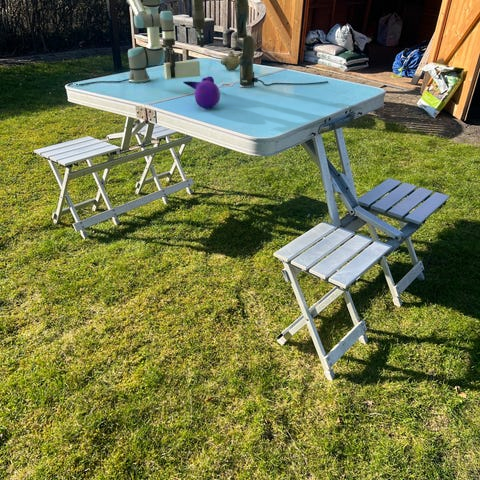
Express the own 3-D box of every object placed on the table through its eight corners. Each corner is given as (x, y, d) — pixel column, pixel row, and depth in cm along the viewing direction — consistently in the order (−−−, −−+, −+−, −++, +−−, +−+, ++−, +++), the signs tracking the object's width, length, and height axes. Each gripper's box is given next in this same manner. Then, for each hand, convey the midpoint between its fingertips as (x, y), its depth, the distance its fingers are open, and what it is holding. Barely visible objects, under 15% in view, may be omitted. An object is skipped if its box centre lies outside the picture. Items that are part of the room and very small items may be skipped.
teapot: (224, 72, 363) (223, 52, 355) (217, 70, 371) (216, 51, 364) (246, 69, 372) (246, 50, 364) (239, 67, 380) (239, 48, 373)
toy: (207, 99, 283) (220, 114, 262) (180, 94, 275) (191, 110, 255) (213, 74, 275) (226, 87, 254) (185, 68, 267) (197, 82, 247)
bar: (167, 79, 291) (165, 64, 287) (165, 77, 296) (163, 62, 291) (200, 76, 299) (199, 61, 294) (197, 74, 303) (196, 60, 298)
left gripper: (178, 39, 276) (181, 79, 288) (170, 36, 291) (173, 73, 303) (166, 40, 274) (170, 80, 286) (159, 37, 289) (163, 74, 301)
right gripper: (207, 18, 273) (208, 47, 281) (201, 17, 285) (203, 44, 293) (195, 19, 271) (197, 48, 279) (190, 17, 283) (192, 45, 291)
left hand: (172, 76), depth 295 cm, fingers closed on bar, 5 cm apart
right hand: (200, 46), depth 286 cm, fingers open, 8 cm apart
